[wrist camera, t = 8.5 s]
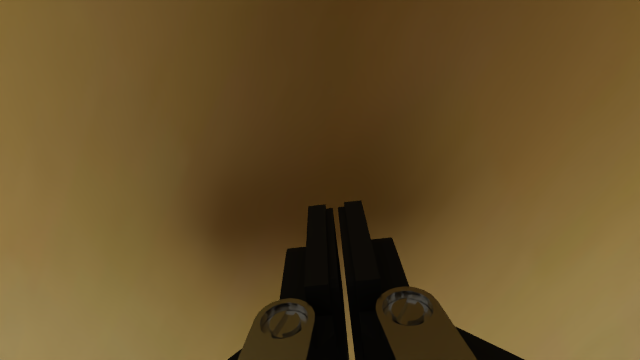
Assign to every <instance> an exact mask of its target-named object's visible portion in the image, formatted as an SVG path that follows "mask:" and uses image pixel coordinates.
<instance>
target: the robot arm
mask: <svg viewBox="0 0 640 360" xmlns="http://www.w3.org/2000/svg"><path fill="white" fill-rule="evenodd" d="M338 213H339V222H340V231H341V240H342V249H343V258H344V267H345V277H346V285H347V294H348V302H349V311H350V319H351V328H352V336H353V344H354V353H355V360H524V359H522V358H520V357H518V356H516V355H514V354H512V353H509V352H507V351H505V350H503V349H501V348H499V347H497V346H495V345H493V344H491V343H489V342H486V341H484V340H482V339H480V338H478V337H476V336H474V335H472V334H470V333H468V332H466V331H464V330H461V329H459V328H457V327H455V326H454V325H453V323H452V322H451V320H450V319H449V317H448V316H447V314H446V313H445V311H444V310H443V308H442V307H441V305H440V304H439V302H438V301H437V300H436V299H435V298H434V297H433V296H432V295H431V294H430V293H428V292H426V291H425V290H422V289H419V288H415V287H409V284H408V282H407V279H406V276H405V273H404V270H403V267H402V265H401V262H400V259H399V256H398V253H397V250H396V248H395V245H394V242H393V239H392V238H382V239H372V240H371V238H370V234H369V230H368V226H367V222H366V218H365V214H364V210H363V206H362V202H361V200H360V201H351V202H344V207H338ZM228 360H349V354H348V343H347V332H346V322H345V311H344V300H343V289H342V280H341V272H340V264H339V256H338V248H337V240H336V232H335V224H334V216H333V208H329V209H326V205H316V206H309V207H308V223H307V241H306V247H299V248H290V249H287V252H286V258H285V266H284V273H283V280H282V287H281V294H280V300H278V301H275V302H272V303H270V304H269V305H267V306H265V307H264V308H263V309H262V310H261V311H260V312H259V313H258V314H257V316H256V317H255V319H254V321H253V324H252V326H251V329H250V331H249V333H248V336H247V338H246V341H245V343H244V345H243V348H242V349H241V350H239V351H238V352H237V353H236V354H234V355H233V356H232V357H230V358H229V359H228Z"/></svg>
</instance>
